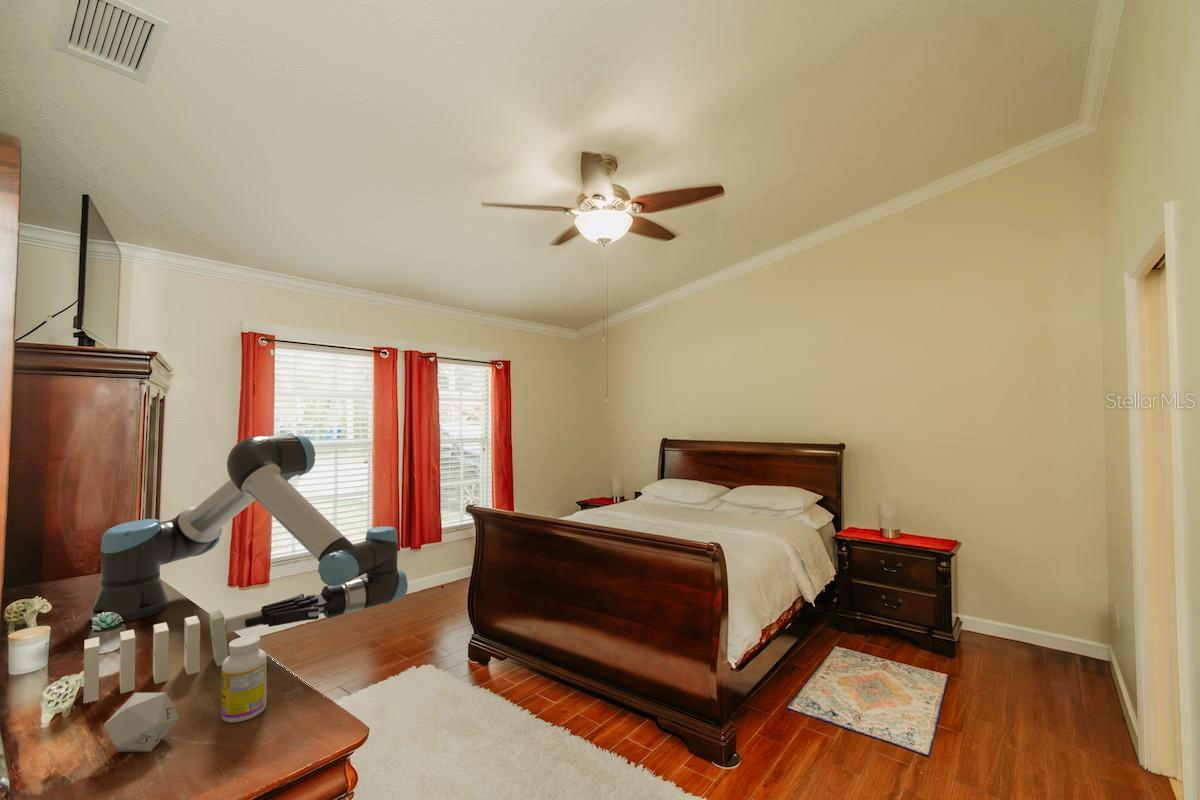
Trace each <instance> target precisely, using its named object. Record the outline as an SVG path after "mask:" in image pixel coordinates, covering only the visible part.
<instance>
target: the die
mask: <svg viewBox="0 0 1200 800" xmlns="http://www.w3.org/2000/svg"><path fill="white" fill-rule="evenodd" d="M180 719H181V717H180V716H179V714H178V711H177V710H176V708H175V706H174V704H173V702H172V701H171V698H170V697H169V695H168V693H167V692H134V693H133V694H132V695H131V697H129V698H128V699H127V700H126V701H125V702H124V703H123V704H122V706H120V707H119V709H117V710H116V711H115V713H113V714H112V716H111V717H109V719H107V721H106V722H105V723H104V724H103V725H102V726H103V727H104V728H105V731H106V732H107V735H108V737H109V738H110V740H111V742H112V744H113V745H114V747H115V749H116V750H117V752H118V753H120V752H122V753H123V752H124V753H126V752H129V753H130V752H131V753H134V752H135V753H136V752H146V753H147V752H152V751H153V749H154V748H156V746H157V745H158V744H159V743H160V742H161V740H162V739H164V737H165V736H166V735H167V734H168V732H170V730H171V729H172V728H173V727H174V726H175V725H176V724H177V723H178V721H179V720H180Z"/></svg>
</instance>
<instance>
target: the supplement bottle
mask: <svg viewBox="0 0 1200 800" xmlns="http://www.w3.org/2000/svg"><path fill="white" fill-rule="evenodd" d="M260 647H261V636H259V635H254V634H252V635H244V636H239V637H237V638H235V639H233V640H231V641H230V642H229V643H228V648H227V649H228V654H229V655H228V657H227V658H226V659H225V660H224V661H223V663H222V665H221V688H220V689H221V692H220V695H221V696H220V697H221V699H220V701H221V702H220V703H221V704H220V705H221V706H220V709H221V711H220V712H221V715H220V716H221V719H222V720H223V721H224V722H226V723H230V724H231V723H235V724H236V723H240V722H245V721H248V720H251V719H253V718H255V717H257V716H258V715H259V714H261V713H262V712H263V711H264V710H265V709H266V706H267V653H266V651H264V650H263V649H261V648H260Z"/></svg>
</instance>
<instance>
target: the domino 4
mask: <svg viewBox="0 0 1200 800" xmlns="http://www.w3.org/2000/svg"><path fill="white" fill-rule="evenodd" d="M208 616H209V617H208V619H209V628H210V629H209V630H210V637H211V638H210V639H211V647H212V649H211V650H212V655H213V657H212V658H213V661H214V662H215V664H216V667H217V666H218V667H221V666H222V663H223V661H224V660H225V659H226V658H227V657H228V656H229V651H228V649H229V648H228V641H227V633H226V629H225V619H226V618H225V615H224V614H223V612H222V610H221V609H218V610H215V611H212V612H208ZM220 665H221V666H220Z"/></svg>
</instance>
